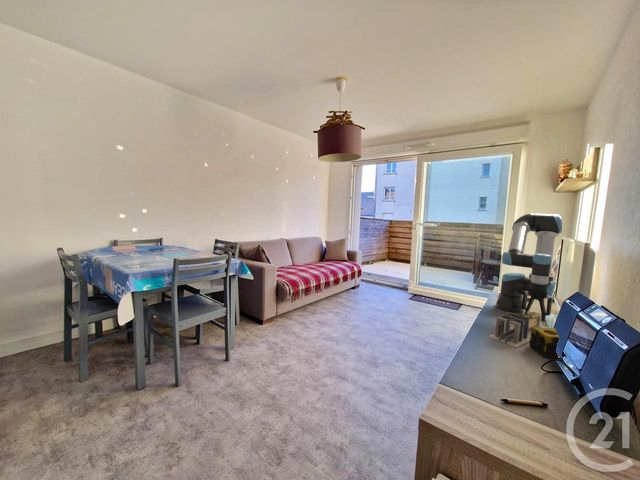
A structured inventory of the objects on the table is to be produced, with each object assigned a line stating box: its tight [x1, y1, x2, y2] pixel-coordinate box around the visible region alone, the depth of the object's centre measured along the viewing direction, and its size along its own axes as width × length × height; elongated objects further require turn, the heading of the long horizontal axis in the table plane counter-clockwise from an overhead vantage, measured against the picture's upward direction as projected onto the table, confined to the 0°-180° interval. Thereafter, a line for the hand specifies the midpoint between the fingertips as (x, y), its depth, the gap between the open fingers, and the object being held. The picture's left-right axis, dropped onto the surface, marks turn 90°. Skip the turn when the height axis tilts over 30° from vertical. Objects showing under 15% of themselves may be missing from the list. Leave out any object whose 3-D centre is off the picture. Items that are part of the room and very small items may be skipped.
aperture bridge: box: [494, 316, 521, 344], centre depth 132 cm, size 2×9×10 cm, turn 33°
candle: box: [528, 326, 559, 359], centre depth 121 cm, size 10×10×10 cm
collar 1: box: [500, 313, 524, 342], centre depth 134 cm, size 1×10×11 cm, turn 33°
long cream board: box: [489, 324, 548, 349], centre depth 141 cm, size 40×12×3 cm, turn 123°
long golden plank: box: [513, 311, 541, 330], centre depth 145 cm, size 22×4×4 cm, turn 123°
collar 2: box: [504, 311, 530, 339], centre depth 137 cm, size 1×10×11 cm, turn 33°
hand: (533, 324), depth 149 cm, fingers open, 5 cm apart
